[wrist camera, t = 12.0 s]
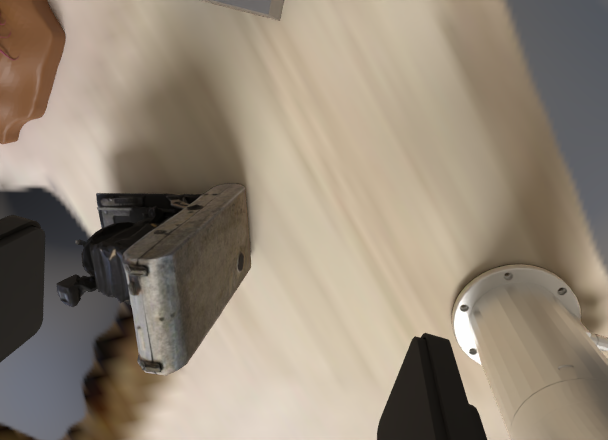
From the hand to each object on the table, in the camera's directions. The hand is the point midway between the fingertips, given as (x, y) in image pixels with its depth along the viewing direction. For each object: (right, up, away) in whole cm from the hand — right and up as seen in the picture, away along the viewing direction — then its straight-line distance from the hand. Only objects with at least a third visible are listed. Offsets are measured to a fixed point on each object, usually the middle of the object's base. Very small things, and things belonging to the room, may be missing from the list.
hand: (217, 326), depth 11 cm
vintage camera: (-11, +2, +38) cm, 39 cm away
